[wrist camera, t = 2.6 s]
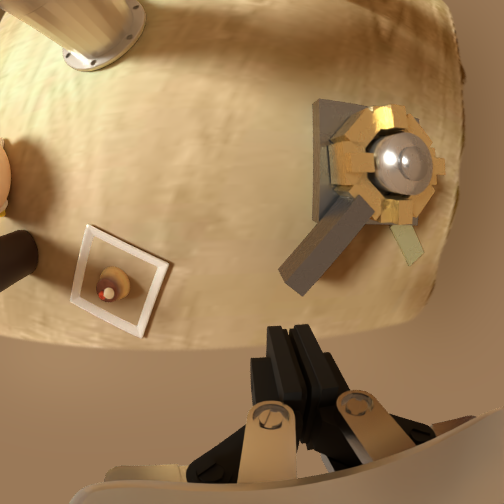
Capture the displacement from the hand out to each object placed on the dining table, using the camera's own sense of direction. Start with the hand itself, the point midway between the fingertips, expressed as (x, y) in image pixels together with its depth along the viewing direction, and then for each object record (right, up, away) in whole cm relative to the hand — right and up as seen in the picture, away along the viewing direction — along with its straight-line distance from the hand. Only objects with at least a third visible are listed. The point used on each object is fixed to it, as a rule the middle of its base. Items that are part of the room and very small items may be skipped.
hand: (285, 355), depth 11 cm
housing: (+15, +12, +20) cm, 28 cm away
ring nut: (+10, +10, +18) cm, 23 cm away
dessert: (-19, 0, +22) cm, 29 cm away
